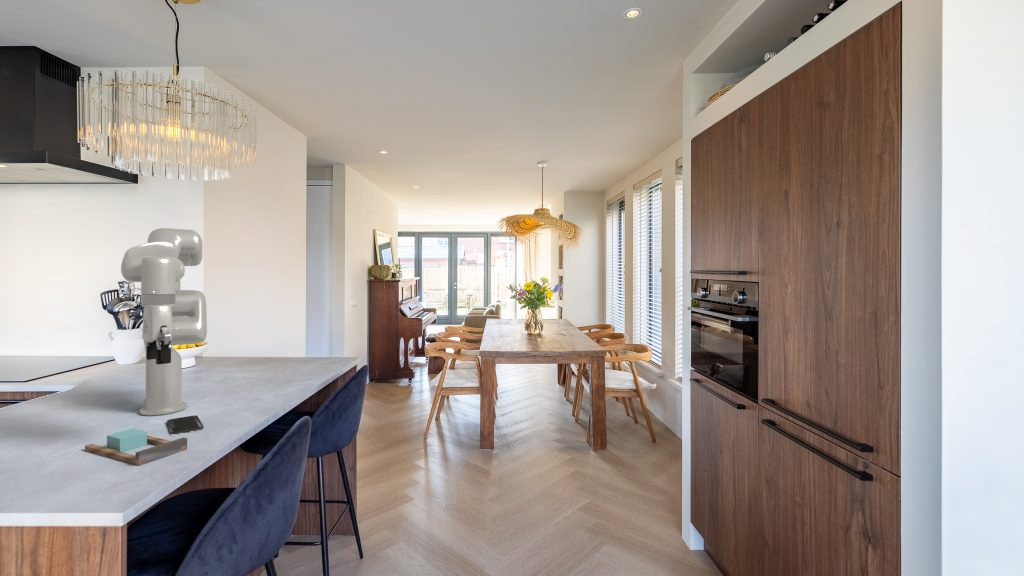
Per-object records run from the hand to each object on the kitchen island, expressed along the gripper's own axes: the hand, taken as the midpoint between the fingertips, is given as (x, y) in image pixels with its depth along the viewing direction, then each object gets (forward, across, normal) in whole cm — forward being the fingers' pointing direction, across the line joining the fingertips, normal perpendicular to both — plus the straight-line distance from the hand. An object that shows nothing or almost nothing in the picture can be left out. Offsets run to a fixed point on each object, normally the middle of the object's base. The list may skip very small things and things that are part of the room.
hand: (158, 361), depth 123 cm
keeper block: (+22, +2, -7) cm, 23 cm away
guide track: (+22, +6, -6) cm, 23 cm away
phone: (+23, -7, +8) cm, 25 cm away
